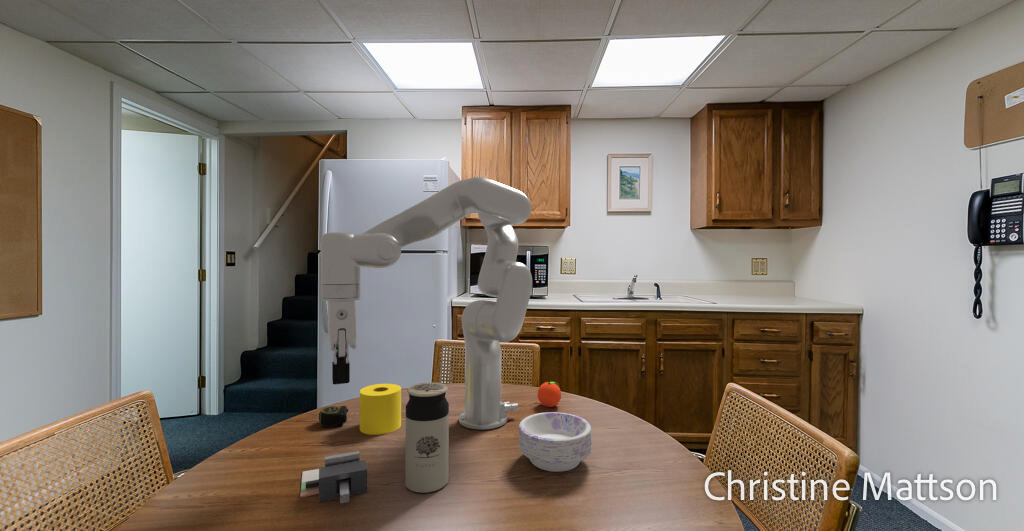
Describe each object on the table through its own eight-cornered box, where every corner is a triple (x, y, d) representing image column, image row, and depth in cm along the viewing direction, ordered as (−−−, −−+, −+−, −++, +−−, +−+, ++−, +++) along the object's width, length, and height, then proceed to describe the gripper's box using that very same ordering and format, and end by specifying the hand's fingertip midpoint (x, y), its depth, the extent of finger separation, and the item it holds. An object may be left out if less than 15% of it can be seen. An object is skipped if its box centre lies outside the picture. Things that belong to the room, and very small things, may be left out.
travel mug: (412, 471, 83) (412, 381, 83) (451, 472, 83) (452, 382, 83) (400, 493, 75) (400, 394, 75) (444, 494, 75) (444, 394, 75)
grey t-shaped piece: (359, 476, 81) (359, 450, 81) (363, 504, 71) (363, 475, 71) (305, 487, 77) (305, 459, 77) (303, 518, 67) (303, 487, 67)
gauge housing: (365, 481, 79) (365, 459, 79) (367, 492, 76) (367, 469, 76) (318, 490, 76) (319, 467, 76) (318, 502, 72) (318, 478, 72)
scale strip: (321, 469, 84) (321, 468, 84) (321, 493, 75) (321, 492, 75) (302, 472, 83) (302, 471, 83) (300, 497, 74) (300, 496, 74)
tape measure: (346, 427, 106) (346, 412, 106) (316, 430, 104) (317, 415, 104) (348, 417, 112) (348, 403, 112) (320, 420, 110) (320, 406, 110)
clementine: (550, 399, 127) (551, 376, 127) (568, 405, 122) (568, 381, 122) (532, 405, 122) (532, 381, 122) (550, 412, 116) (550, 386, 116)
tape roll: (406, 428, 105) (407, 391, 105) (366, 438, 99) (366, 398, 99) (393, 416, 113) (393, 381, 113) (355, 424, 107) (355, 387, 107)
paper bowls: (507, 471, 84) (507, 432, 83) (532, 441, 98) (532, 407, 98) (583, 487, 78) (583, 444, 78) (597, 452, 92) (597, 416, 92)
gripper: (363, 295, 80) (363, 390, 81) (357, 289, 95) (357, 370, 95) (320, 296, 77) (320, 395, 78) (320, 290, 92) (321, 374, 92)
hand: (340, 381), depth 86 cm, fingers closed
